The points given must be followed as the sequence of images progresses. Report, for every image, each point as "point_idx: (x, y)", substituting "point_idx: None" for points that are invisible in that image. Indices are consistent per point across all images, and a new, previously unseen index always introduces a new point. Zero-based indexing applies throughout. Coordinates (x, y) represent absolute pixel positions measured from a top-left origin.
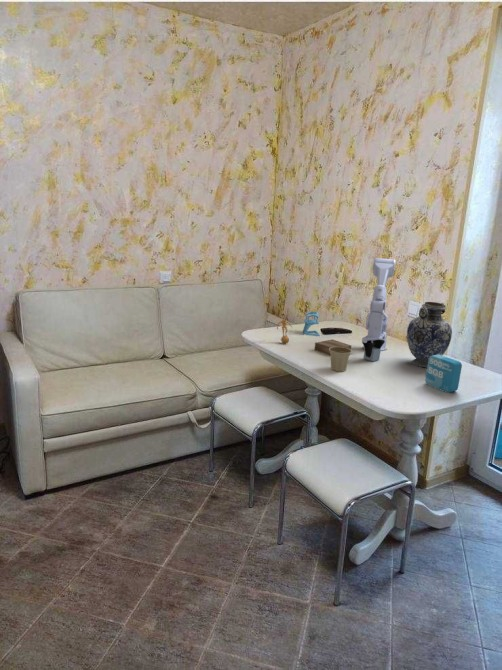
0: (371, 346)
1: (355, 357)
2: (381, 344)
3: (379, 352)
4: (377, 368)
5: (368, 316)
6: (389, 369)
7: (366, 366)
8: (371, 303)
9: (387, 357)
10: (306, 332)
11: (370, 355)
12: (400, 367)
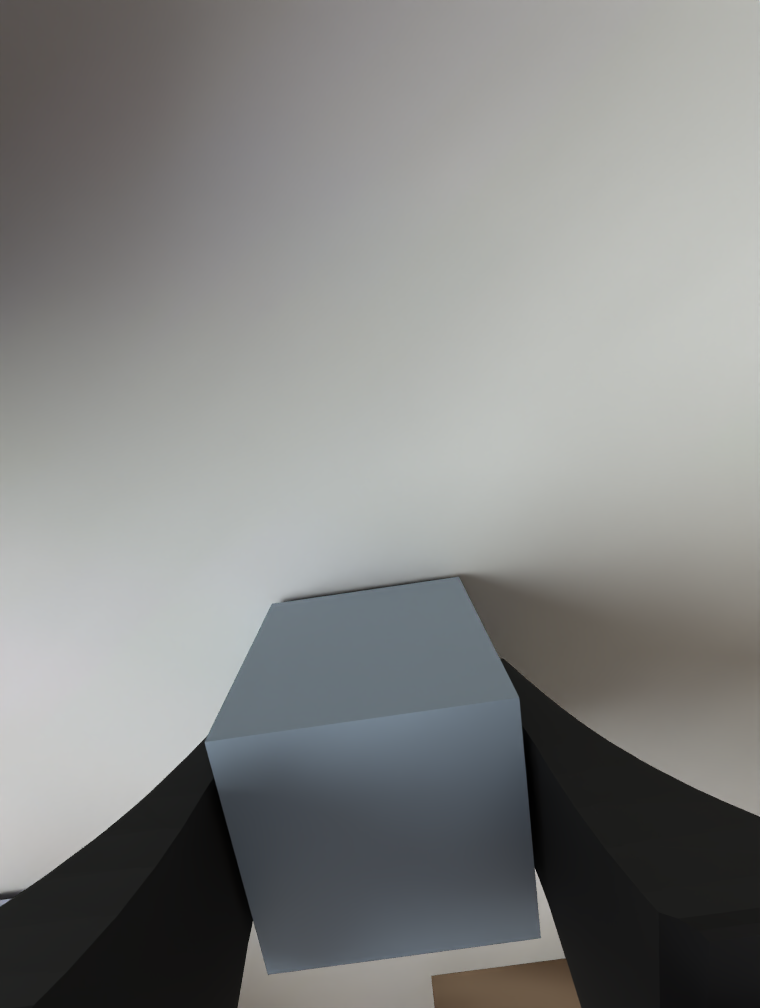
0: (745, 824)
1: None
2: (93, 901)
3: (262, 679)
4: (656, 271)
5: None
6: (491, 118)
7: (738, 438)
8: None
9: (22, 656)
10: None
11: None
12: (178, 117)
